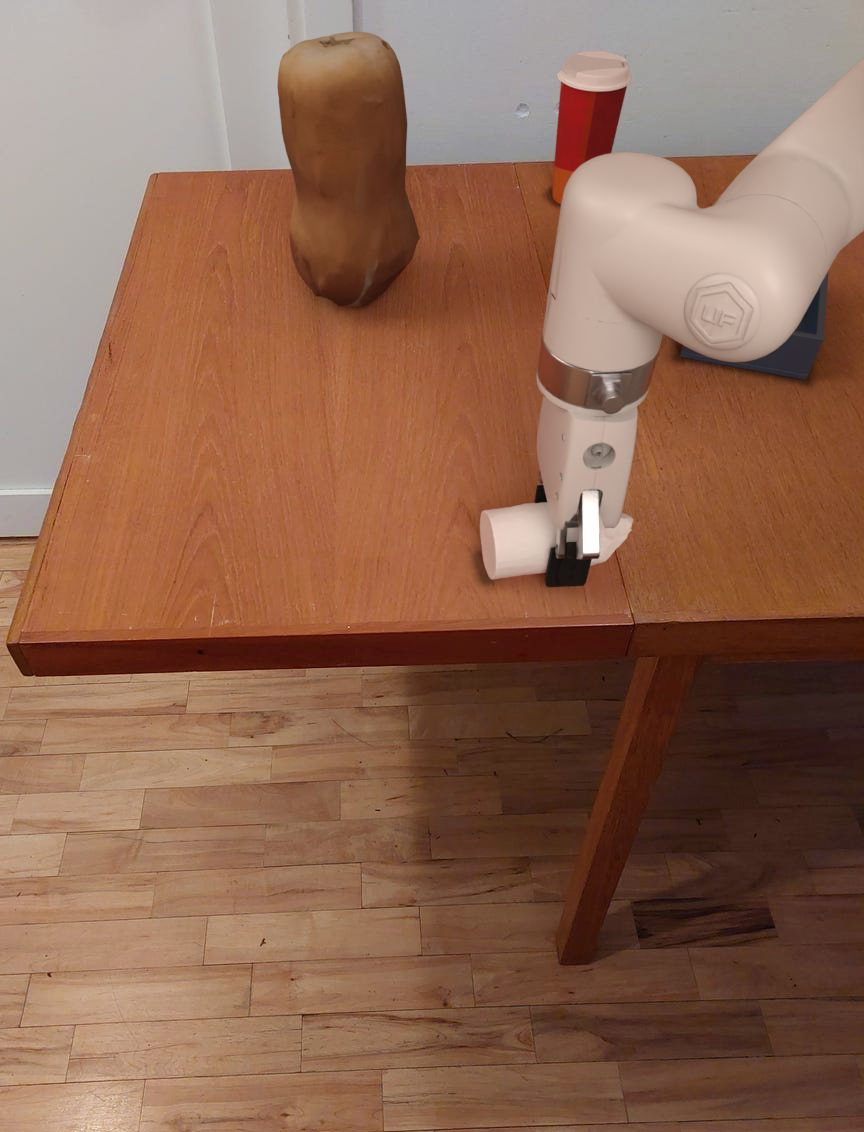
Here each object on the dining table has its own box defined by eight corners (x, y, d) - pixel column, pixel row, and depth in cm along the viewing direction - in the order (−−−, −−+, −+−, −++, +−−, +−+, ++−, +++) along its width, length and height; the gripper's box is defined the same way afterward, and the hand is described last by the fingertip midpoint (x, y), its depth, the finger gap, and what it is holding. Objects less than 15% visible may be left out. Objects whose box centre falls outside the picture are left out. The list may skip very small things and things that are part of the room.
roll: (637, 578, 72) (652, 528, 68) (492, 594, 71) (498, 545, 67) (615, 526, 76) (628, 476, 71) (477, 541, 75) (482, 491, 71)
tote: (806, 380, 88) (823, 339, 85) (679, 357, 91) (691, 316, 87) (813, 294, 98) (829, 254, 94) (699, 276, 100) (710, 236, 97)
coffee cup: (607, 182, 114) (631, 50, 103) (610, 213, 109) (636, 78, 98) (541, 180, 115) (558, 48, 103) (542, 211, 110) (560, 76, 98)
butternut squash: (318, 256, 104) (300, 4, 84) (429, 273, 101) (438, 16, 82) (276, 321, 96) (246, 58, 76) (396, 340, 93) (398, 74, 74)
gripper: (685, 446, 54) (625, 632, 68) (624, 290, 64) (583, 479, 78) (561, 450, 53) (526, 636, 67) (521, 294, 64) (498, 482, 78)
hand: (557, 550), depth 73 cm, fingers closed on roll, 6 cm apart
